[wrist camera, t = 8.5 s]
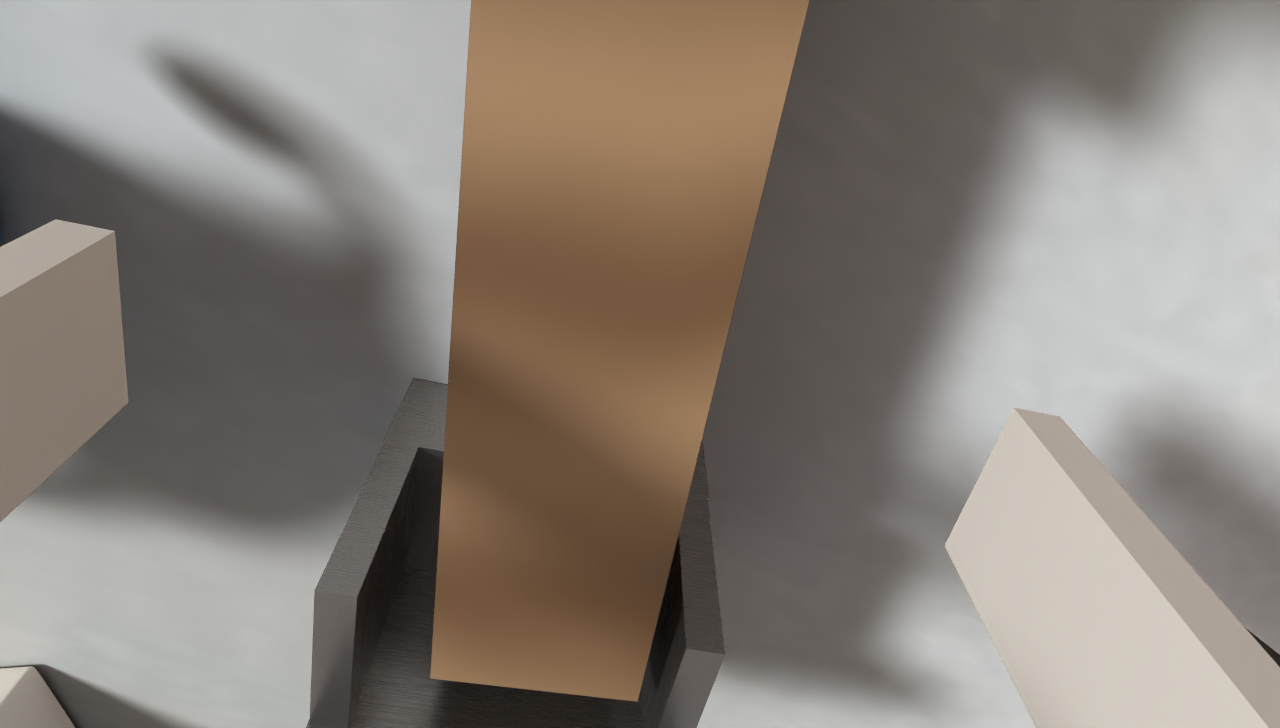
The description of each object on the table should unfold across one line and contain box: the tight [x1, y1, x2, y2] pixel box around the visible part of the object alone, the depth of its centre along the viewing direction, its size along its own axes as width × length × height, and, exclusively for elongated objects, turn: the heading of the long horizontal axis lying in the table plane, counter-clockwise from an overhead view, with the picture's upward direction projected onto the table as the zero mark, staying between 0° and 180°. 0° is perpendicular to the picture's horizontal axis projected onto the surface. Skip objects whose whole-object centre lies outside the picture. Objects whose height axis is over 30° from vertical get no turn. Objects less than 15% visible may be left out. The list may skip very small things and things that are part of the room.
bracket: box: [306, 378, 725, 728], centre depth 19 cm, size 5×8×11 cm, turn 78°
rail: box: [430, 0, 809, 702], centre depth 15 cm, size 19×4×4 cm, turn 171°
